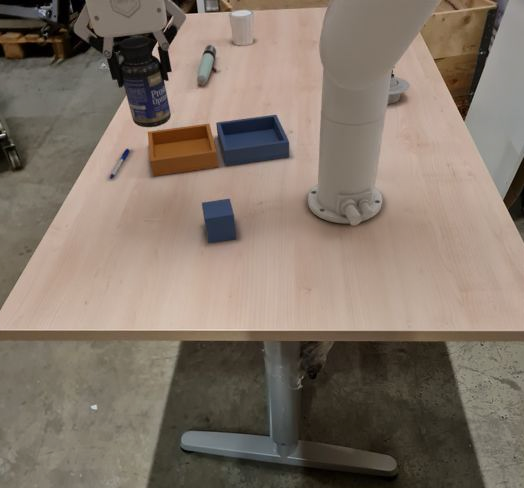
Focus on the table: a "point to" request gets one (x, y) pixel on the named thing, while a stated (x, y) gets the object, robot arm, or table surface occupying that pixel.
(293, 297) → the table surface
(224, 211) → the block
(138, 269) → the table surface
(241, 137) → the blue tray
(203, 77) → the flashlight
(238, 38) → the white cylinder
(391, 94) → the grey flanged cylinder
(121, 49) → the pill bottle
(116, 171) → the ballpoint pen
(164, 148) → the amber tray
